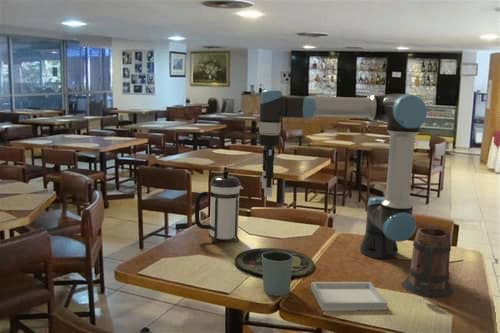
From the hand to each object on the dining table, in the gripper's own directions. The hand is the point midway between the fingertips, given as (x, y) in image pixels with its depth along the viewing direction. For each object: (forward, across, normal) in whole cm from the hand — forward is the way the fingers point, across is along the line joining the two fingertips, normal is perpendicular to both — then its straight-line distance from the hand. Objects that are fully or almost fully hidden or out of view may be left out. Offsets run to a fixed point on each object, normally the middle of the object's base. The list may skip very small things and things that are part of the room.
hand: (266, 192), depth 181 cm
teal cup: (+28, +23, +3) cm, 36 cm away
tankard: (+28, +21, +54) cm, 64 cm away
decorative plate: (+28, -1, +4) cm, 29 cm away
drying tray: (+28, +29, +25) cm, 47 cm away
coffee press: (+28, -29, -16) cm, 44 cm away
